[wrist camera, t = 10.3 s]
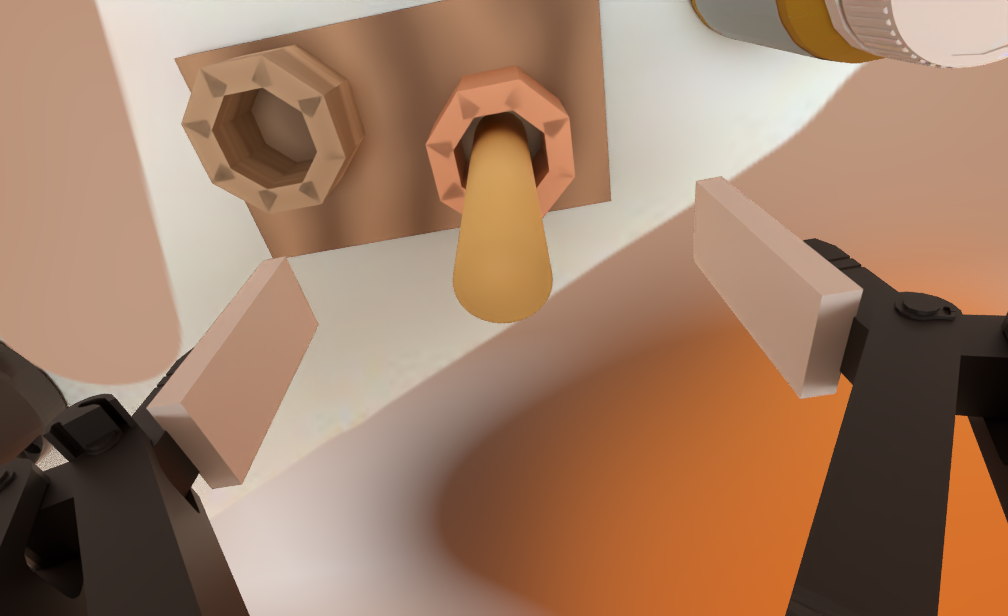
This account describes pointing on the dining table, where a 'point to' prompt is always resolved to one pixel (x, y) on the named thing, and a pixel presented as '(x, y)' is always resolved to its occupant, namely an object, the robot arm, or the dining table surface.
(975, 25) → the bottle
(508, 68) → the bead rust
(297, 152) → the lacing board
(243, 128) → the bead beech
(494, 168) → the dowel
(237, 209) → the dining table surface
